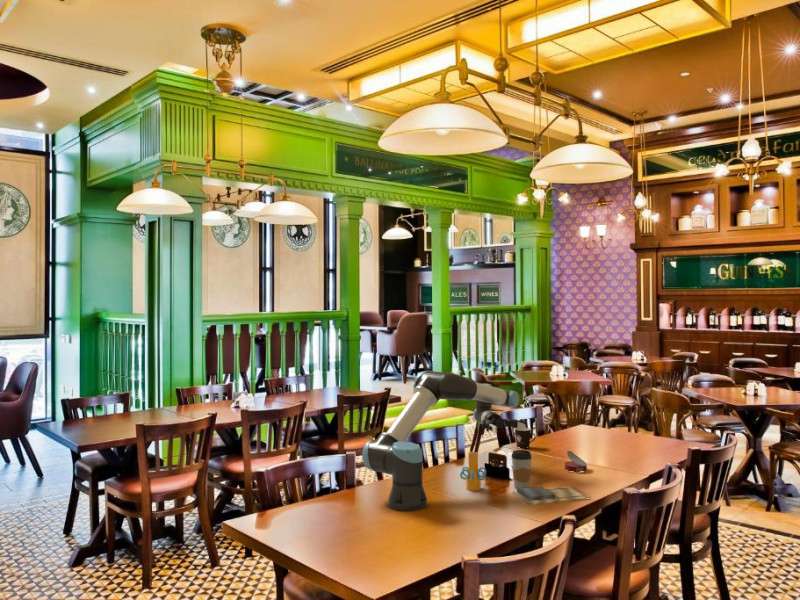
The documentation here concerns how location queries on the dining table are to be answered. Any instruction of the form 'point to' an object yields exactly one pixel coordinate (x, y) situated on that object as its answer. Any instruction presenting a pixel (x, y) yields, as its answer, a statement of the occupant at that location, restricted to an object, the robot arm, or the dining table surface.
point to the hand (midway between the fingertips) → (510, 428)
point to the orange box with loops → (473, 473)
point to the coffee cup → (521, 468)
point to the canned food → (575, 463)
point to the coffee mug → (523, 437)
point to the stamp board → (558, 493)
